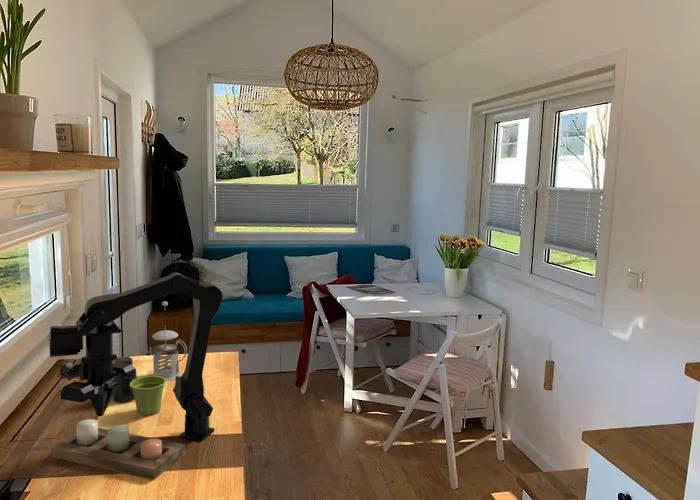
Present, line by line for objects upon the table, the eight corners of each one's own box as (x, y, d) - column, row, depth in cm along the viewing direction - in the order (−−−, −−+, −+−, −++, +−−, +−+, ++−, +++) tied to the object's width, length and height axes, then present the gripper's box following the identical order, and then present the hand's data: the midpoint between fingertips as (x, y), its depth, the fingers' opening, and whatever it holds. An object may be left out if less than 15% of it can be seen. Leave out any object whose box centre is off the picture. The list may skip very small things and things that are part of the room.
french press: (157, 370, 189) (155, 297, 186) (191, 371, 189) (190, 298, 186) (145, 380, 180) (143, 304, 176) (181, 382, 179) (180, 305, 176)
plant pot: (155, 420, 152) (154, 390, 151) (123, 416, 154) (122, 386, 153) (172, 406, 161) (172, 377, 160) (142, 403, 163) (142, 374, 162)
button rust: (149, 454, 133) (149, 437, 133) (166, 458, 132) (165, 440, 131) (136, 464, 129) (136, 446, 128) (153, 468, 128) (153, 449, 127)
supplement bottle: (129, 392, 171) (128, 354, 169) (141, 398, 166) (141, 359, 165) (107, 398, 165) (106, 359, 164) (119, 405, 161) (118, 365, 159)
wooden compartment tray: (89, 435, 143) (89, 425, 143) (185, 454, 135) (185, 444, 134) (51, 457, 132) (51, 447, 131) (153, 480, 123) (153, 469, 123)
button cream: (87, 434, 138) (86, 418, 138) (102, 438, 137) (101, 421, 136) (72, 443, 134) (72, 425, 133) (88, 446, 133) (88, 429, 132)
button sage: (117, 441, 136) (117, 423, 135) (133, 444, 134) (133, 426, 134) (104, 449, 131) (103, 432, 131) (120, 453, 130) (120, 435, 129)
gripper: (97, 337, 142) (98, 396, 144) (39, 359, 124) (40, 426, 126) (136, 342, 139) (136, 403, 141) (81, 366, 121) (82, 435, 123)
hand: (100, 415), depth 133 cm, fingers closed
